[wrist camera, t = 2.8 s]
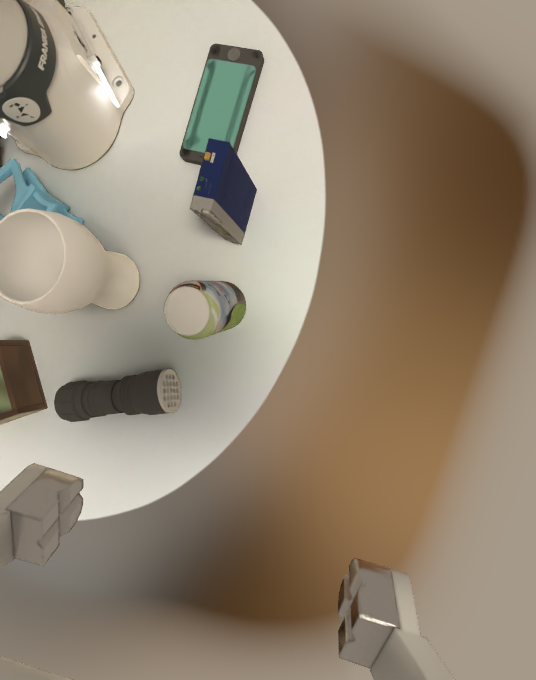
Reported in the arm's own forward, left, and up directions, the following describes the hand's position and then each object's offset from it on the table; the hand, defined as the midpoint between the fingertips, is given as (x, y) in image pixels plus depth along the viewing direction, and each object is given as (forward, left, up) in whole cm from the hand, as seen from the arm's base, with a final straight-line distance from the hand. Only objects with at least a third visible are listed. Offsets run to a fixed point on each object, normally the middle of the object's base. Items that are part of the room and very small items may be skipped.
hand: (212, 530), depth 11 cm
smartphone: (-38, 0, -37) cm, 53 cm away
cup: (-22, -21, -37) cm, 48 cm away
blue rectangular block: (-24, -2, -37) cm, 44 cm away
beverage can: (-13, -8, -37) cm, 40 cm away
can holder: (-14, -42, -37) cm, 57 cm away
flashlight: (-7, -24, -37) cm, 45 cm away
